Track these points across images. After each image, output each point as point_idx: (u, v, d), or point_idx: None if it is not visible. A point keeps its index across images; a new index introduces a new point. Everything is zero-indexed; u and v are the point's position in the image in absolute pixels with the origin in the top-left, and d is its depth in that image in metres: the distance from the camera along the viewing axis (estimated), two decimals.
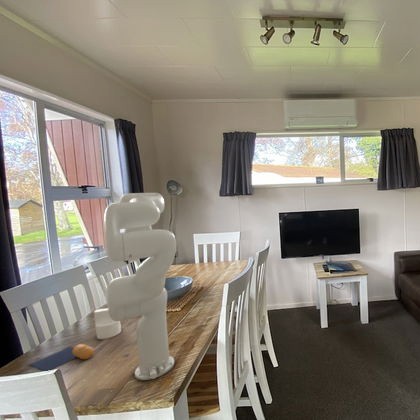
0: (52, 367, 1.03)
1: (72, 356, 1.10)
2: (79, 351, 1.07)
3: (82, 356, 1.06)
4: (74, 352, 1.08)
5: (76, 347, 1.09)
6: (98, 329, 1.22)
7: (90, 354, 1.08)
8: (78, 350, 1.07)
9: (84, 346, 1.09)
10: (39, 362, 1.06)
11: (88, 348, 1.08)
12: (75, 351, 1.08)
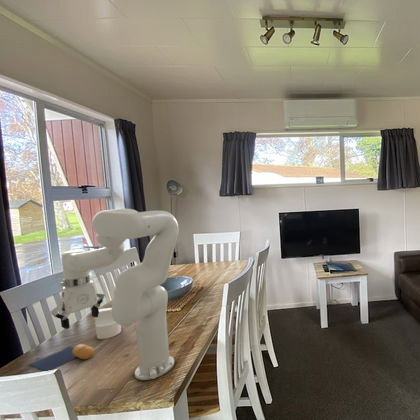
0: (52, 367, 1.03)
1: (72, 356, 1.10)
2: (79, 351, 1.07)
3: (82, 356, 1.06)
4: (74, 352, 1.08)
5: (76, 347, 1.09)
6: (98, 329, 1.22)
7: (90, 354, 1.08)
8: (78, 350, 1.07)
9: (84, 346, 1.09)
10: (39, 362, 1.06)
11: (88, 348, 1.08)
12: (75, 351, 1.08)
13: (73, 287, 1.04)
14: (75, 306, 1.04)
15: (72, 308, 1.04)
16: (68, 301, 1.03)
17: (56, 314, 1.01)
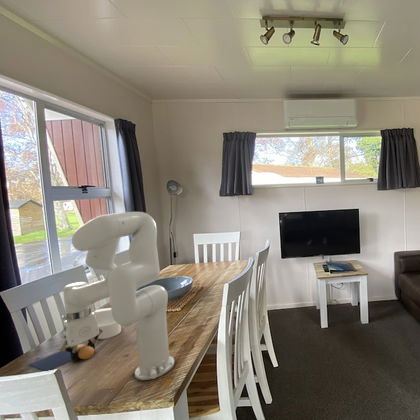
0: (52, 367, 1.03)
1: None
2: (79, 351, 1.07)
3: (82, 356, 1.06)
4: None
5: None
6: None
7: (90, 354, 1.08)
8: (78, 350, 1.07)
9: (84, 346, 1.09)
10: (39, 362, 1.06)
11: (88, 348, 1.08)
12: None
13: (75, 320, 1.05)
14: (77, 339, 1.05)
15: (74, 341, 1.04)
16: (70, 335, 1.03)
17: (66, 348, 1.04)
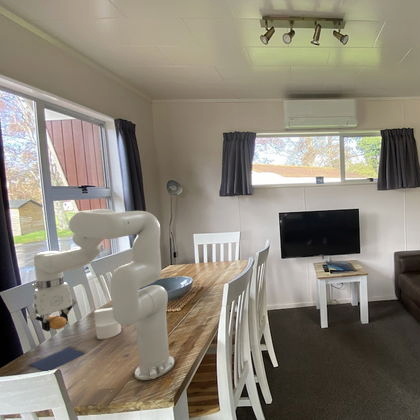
0: (52, 367, 1.03)
1: (72, 356, 1.10)
2: (50, 320, 1.05)
3: (53, 325, 1.04)
4: None
5: (48, 317, 1.07)
6: (98, 329, 1.22)
7: (62, 324, 1.06)
8: (49, 320, 1.05)
9: (56, 316, 1.07)
10: (39, 362, 1.06)
11: (60, 318, 1.06)
12: None
13: (46, 289, 1.02)
14: (48, 308, 1.03)
15: (45, 310, 1.02)
16: (40, 303, 1.01)
17: (36, 316, 1.02)
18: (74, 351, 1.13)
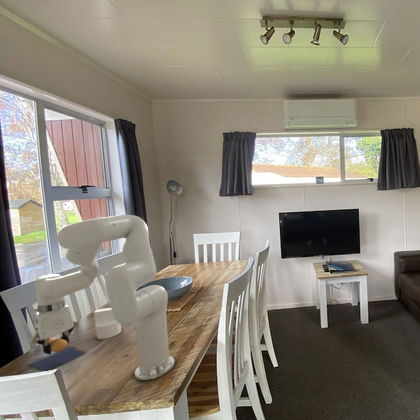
0: (52, 367, 1.03)
1: (72, 356, 1.10)
2: (51, 344, 1.06)
3: (55, 349, 1.05)
4: None
5: (49, 340, 1.07)
6: (98, 329, 1.22)
7: (63, 347, 1.06)
8: (51, 343, 1.06)
9: (57, 339, 1.07)
10: (39, 362, 1.06)
11: (61, 341, 1.07)
12: None
13: (47, 313, 1.03)
14: (49, 332, 1.04)
15: (46, 334, 1.03)
16: (42, 327, 1.02)
17: (37, 340, 1.02)
18: (74, 351, 1.13)
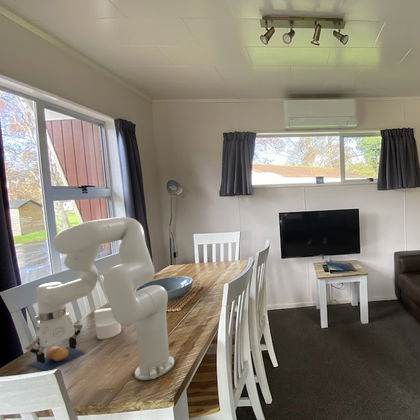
0: (52, 367, 1.03)
1: (72, 356, 1.10)
2: (52, 353, 1.06)
3: (56, 357, 1.05)
4: (47, 354, 1.07)
5: (50, 349, 1.08)
6: (98, 329, 1.22)
7: (64, 356, 1.07)
8: (52, 352, 1.06)
9: (58, 348, 1.08)
10: (39, 362, 1.06)
11: (62, 350, 1.07)
12: (49, 353, 1.07)
13: (48, 321, 1.04)
14: (50, 340, 1.04)
15: (47, 342, 1.03)
16: (43, 335, 1.02)
17: (31, 349, 1.00)
18: (74, 351, 1.13)
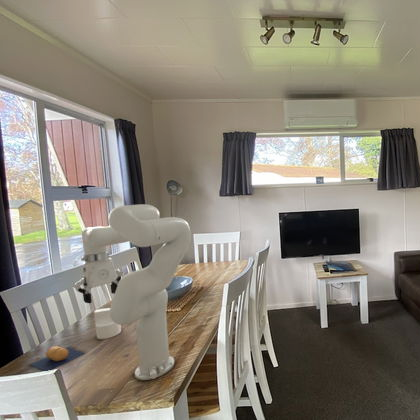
0: (52, 367, 1.03)
1: (72, 356, 1.10)
2: (52, 353, 1.06)
3: (56, 358, 1.05)
4: (47, 354, 1.07)
5: (50, 349, 1.08)
6: (98, 329, 1.22)
7: (64, 356, 1.07)
8: (51, 352, 1.06)
9: (58, 348, 1.08)
10: (39, 362, 1.06)
11: (61, 350, 1.07)
12: (48, 353, 1.07)
13: (94, 262, 1.06)
14: (96, 281, 1.07)
15: (94, 282, 1.06)
16: (90, 275, 1.05)
17: (79, 288, 1.03)
18: (74, 351, 1.13)
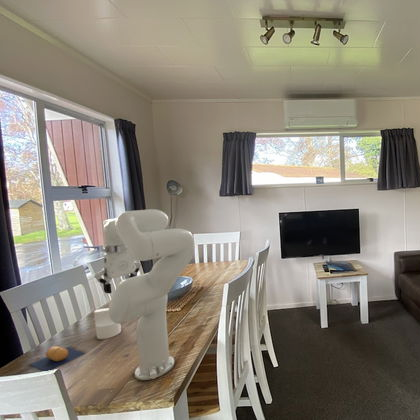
0: (52, 367, 1.03)
1: (72, 356, 1.10)
2: (52, 353, 1.06)
3: (55, 358, 1.05)
4: (47, 354, 1.07)
5: (49, 349, 1.08)
6: (98, 329, 1.22)
7: (63, 356, 1.07)
8: (51, 352, 1.06)
9: (57, 348, 1.08)
10: (39, 362, 1.06)
11: (61, 350, 1.07)
12: (48, 353, 1.06)
13: (114, 253, 1.08)
14: (116, 272, 1.09)
15: (114, 273, 1.08)
16: (110, 266, 1.07)
17: (99, 278, 1.05)
18: (74, 351, 1.13)
